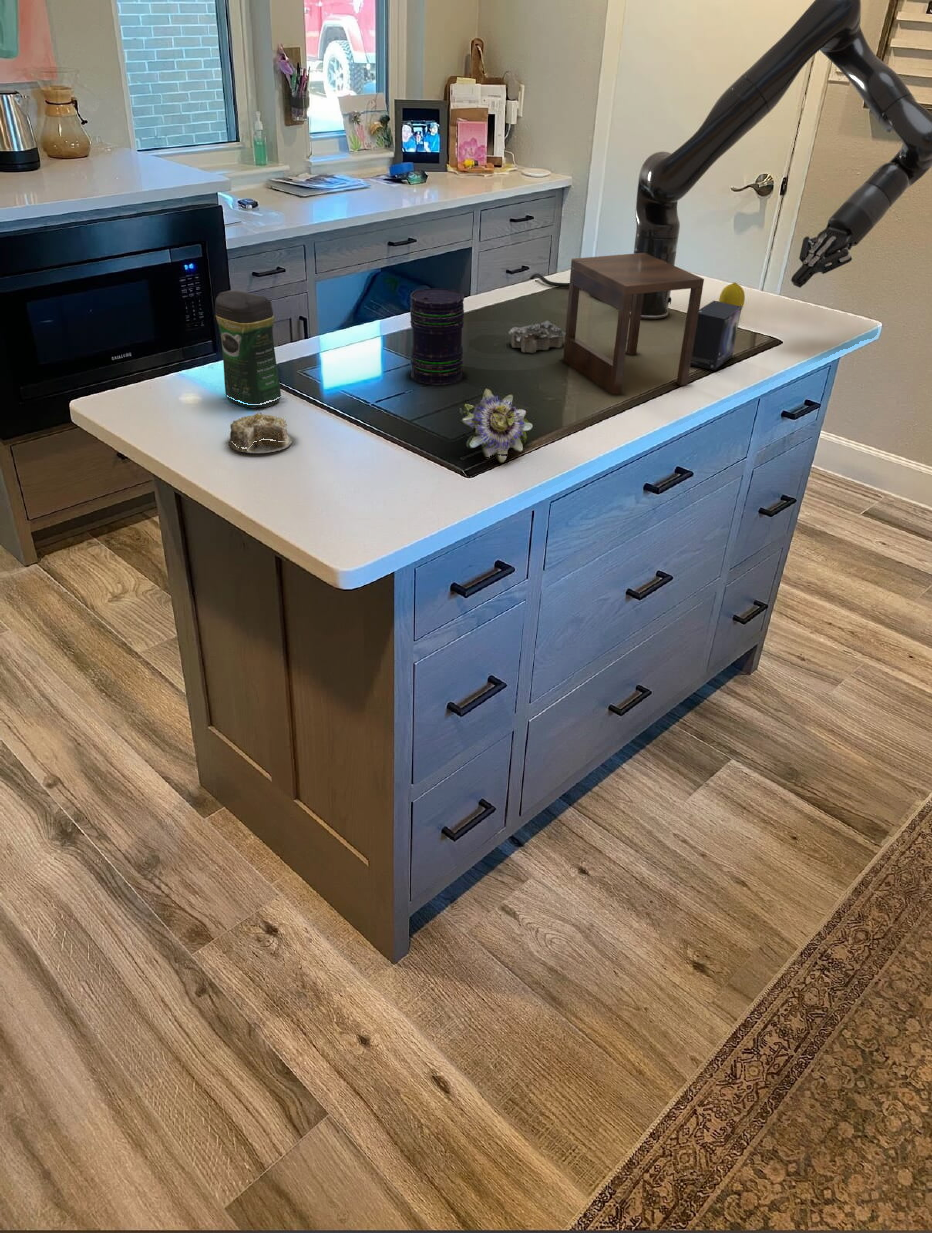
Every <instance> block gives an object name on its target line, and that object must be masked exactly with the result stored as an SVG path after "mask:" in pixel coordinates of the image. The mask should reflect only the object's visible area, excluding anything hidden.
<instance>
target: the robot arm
mask: <svg viewBox="0 0 932 1233" xmlns="http://www.w3.org/2000/svg"><path fill="white" fill-rule="evenodd" d="M861 18H862V1H861V0H814V1H813V2H812V3H811V4H810V5H809V7H807V9H806V10H805V11H804V12H803V13H802V14H801V16H800V17H799V18H798V20H796V22H794V24H793V25H792V26H791V27H790V28H789V29H788V31H786V33H785V34H784V35H782V37H780V38H779V39H778V40H777V41H776V42H775V43H774V44H773V45H772V46H771V47H770V48H769V49H768V50H767V51H766V52H764V53H763V54H762V56H761V57H760V58H758V60H757V61H756V62H754V63H753V64H752V65H751V66H750V67H749V68H748V69H747V70H745V72H743V73H742V74H741V75H740V76H739V77H738V78H737V79H736V80H735V81H734V82H733V83H732V84H730V86H729V87H728V88H726V90H725V91H724V92H723V93H722V94H721V95H720V96H719V98H718V99H717V100H716V101H715V103H714V105H713V106H712V108H711V109H710V111H709V113H708V114H707V116H706V117H705V119H704V121H703V123H702V124H701V125H700V127H699V128H698V130H697V131H695V133H693V135H692V136H691V137H690V138H689V139H688V140H686V141H685V142H684V143H682V145H681V146H679V147H678V148H677V149H676V150H675V151H673V152H672V153H671V152H669V151H656V152H654V153H652V154H650V155H649V156H648V157H647V158H646V159H645V160H644V161H643V164H642V166H641V168H640V171H639V175H638V180H637V191H636V202H635V223H636V228H635V239H634V245H633V246H634V248H633V254H636V253H646V254H649V255H651V256H653V257H655V258H658V259H660V260H662V261H664V262H667V263H669V264H671V265H674V266H675V264H676V257H677V249H678V242H679V234H680V229H681V228H680V227H681V223H680V219H679V214H678V202H679V201H680V200H681V199H682V198H684V197H685V196H686V195H687V194H688V193H689V191H691V190H692V189H693V187H694V186H695V185H696V184H697V183H698V181H699V180H700V179H701V178H702V177H703V176H704V175H705V174H706V172H707V171H708V170H709V169H710V168H711V167H712V166H713V165H714V164H715V163H716V162H717V161H718V160H719V159H720V158H721V157H722V156H723V155H725V153H727V152H728V151H729V150H730V149H731V148H732V147H733V146H735V144H737V143H738V142H739V141H740V140H741V139H742V138H744V136H745V135H747V133H749V132H750V131H751V130H752V129H753V128H755V127H756V126H757V124H759V123H760V122H761V121H762V120H763V119H764V118H765V117H766V116H767V115H768V114H769V113H770V112H772V111H773V109H774V108H775V107H777V105H778V104H779V103H780V101H781V100H782V98H783V97H784V96H785V95H786V93H787V91H789V88H790V87H791V86H792V84H793V82H794V81H795V79H796V77H797V76H798V75H799V74H800V73H801V70H802V69H803V68H804V67H805V65H806V64H807V63H808V62H809V61H810V60H811V59H812V58H813V57H814V56H815V55H816V54H817V53H819V51H820V52H821V53H822V54H823V55H824V56H825V57H826V58H827V59H828V60H829V61H830V62H832V63H833V64H834V65H835V66H836V67H837V68H838V70H839V71H840V72H841V73H842V74H843V75H844V76H845V78H847V80H848V81H849V82H850V84H852V86H853V87H854V88H855V90H856V91H857V93H858V94H859V96H860V98H862V100H863V101H864V103H865V104H866V106H867V107H868V109H869V111H870V112H871V113H872V115H873V116H874V118H875V119H876V121H877V122H878V123H879V125H880V127H881V128H882V129H883V130H884V131H885V132H887V133H889V134H892V133H895V134H897V136H898V137H899V139H900V141H901V142H902V145H901V148H900V149H899V150H898V151H897V153H896V154H895V155H894V156H893V157H892V158H891V160H889V161H888V162H884V163H883V164H881V165H880V166H878V167H877V168H876V170H874V171H873V172H872V173H871V174H870V176H869V177H868V178H867V179H866V180H865V181H864V182H863V183H862V184H861V185H860V186H859V187H858V188H857V189H856V190H855V191H853V193H851V195H849V197H848V198H847V199H846V200H845V201H844V202H843V203H842V204H841V205H840V207H839V208H837V210H836V211H835V212H834V213H833V214H832V215H831V216H830V217H829V219H828V220H827V225H826V227H825V228H824V229H823V230H822V231H820V232H819V233H818V234H817V235H816V236H815V237H810V236H809V235H807V236H805V237H804V238H803V239H802V243H801V248H800V253H799V256H798V260H799V261H800V262H801V264H802V265H801V266H800V267H799V268H798V269H797V270H796V272H794V274H793V275H792V277H791V279H790V281H791V284H792V285H793V286H795V287H797V288H799V289H800V288H802V287H803V286H805V285H806V284H807V282H809V280H810V279H811V278H812V277H813V276H814V275H817V274H819V273H821V274H822V275H825V274H827V273H830V272H831V271H833V270H835V269H837V268H840V267H842V266H844V265H846V264H849V263H850V262H852V260H853V257H852V256H851V253H850V250H851V249H852V248H853V247H856V246H857V245H859V244H860V243H861V242H862V241H863V239H865V238H866V236H867V235H868V234H869V233H870V232H871V231H872V230H873V228H875V226H876V225H877V224H878V223H879V222H880V221H881V220H882V219H883V218H884V216H885V215H886V213H887V212H888V211H889V210H890V208H891V207H892V206H893V205H894V204H895V203H896V202H897V201H898V200H899V199H900V198H901V197H902V195H903V194H904V193H905V191H906V190H908V189H909V188H910V187H911V186H913V185H914V184H915V183H916V182H917V181H919V180H920V179H921V178H922V177H923V176H924V175H926V173H927V172H928V171H929V170H930V169H931V168H932V112H931V111H929V110H928V109H927V108H925V107H924V106H923V105H922V104H920V103H919V102H918V101H917V100H916V98H915V96H914V95H913V93H912V92H911V91H910V89H909V87H908V86H907V84H906V83H905V82H904V80H903V79H902V78H901V77H900V76H899V74H898V73H897V72H896V71H895V70H894V69H893V68H892V67H890V66H889V65H887V64H886V63H885V62H884V61H882V60H881V59H880V58H878V56H877V55H876V54H875V53H874V51H873V50H872V49H871V47H870V45H869V43H868V42H867V39H866V37H865V35H864V33H863V30H862V27H861V20H862V19H861ZM536 278H538V279H539V280H540V281H541V282H542V283H544V284H545V285H548V286H551V287H557V288H569V285H570V282H558V281H557V282H556V281H551V280H549V279H547V278H546V277H544V276H543V275H542V274H541V273H538V272H534V273H532V275H530V277H529V278H528V279H529V280H534V279H536ZM671 292H672V290H671V291H661V292H650V293H644V296H643V304H642V312H641V320H661V319H665V318H667V317H668V316H669V306H670V305H672V297H671ZM632 300H633V294H632ZM599 301H600V302H603V301H601V300H599ZM603 303H604V302H603ZM631 309H632V302H631ZM630 317H631V310H630Z"/></svg>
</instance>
